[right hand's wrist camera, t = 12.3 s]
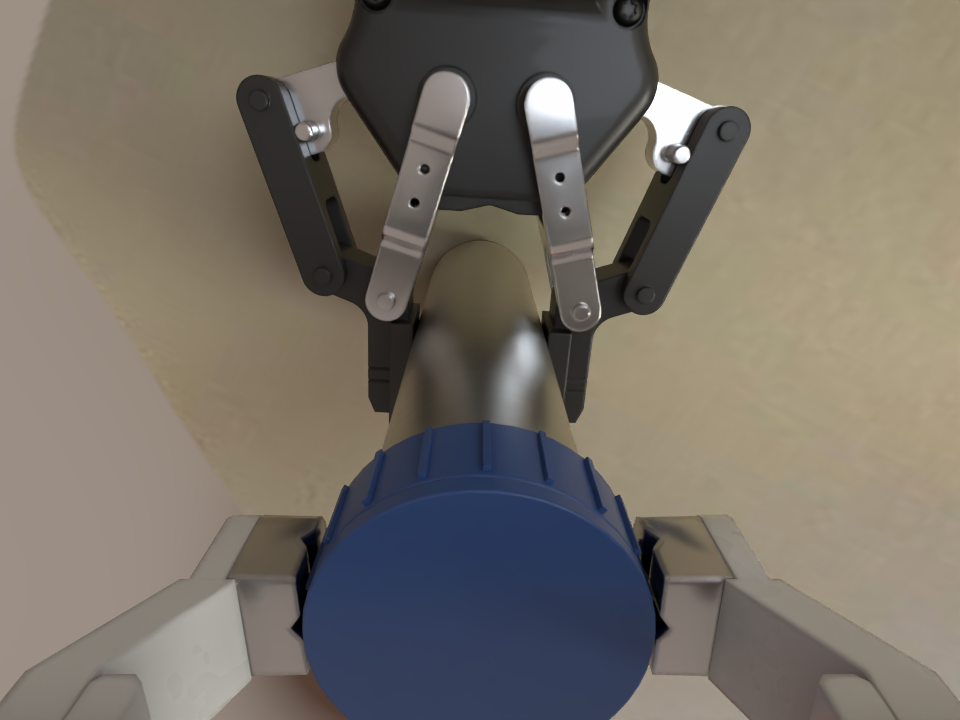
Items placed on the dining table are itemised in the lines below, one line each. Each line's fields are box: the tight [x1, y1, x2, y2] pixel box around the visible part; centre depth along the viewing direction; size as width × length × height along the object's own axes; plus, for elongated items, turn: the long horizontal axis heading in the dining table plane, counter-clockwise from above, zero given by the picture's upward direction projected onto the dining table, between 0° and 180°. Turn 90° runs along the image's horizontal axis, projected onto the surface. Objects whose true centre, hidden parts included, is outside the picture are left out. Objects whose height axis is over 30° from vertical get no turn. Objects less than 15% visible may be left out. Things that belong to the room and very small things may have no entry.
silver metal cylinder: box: [382, 240, 578, 454], centre depth 18 cm, size 4×4×18 cm
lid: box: [302, 420, 656, 720], centre depth 10 cm, size 5×5×2 cm
